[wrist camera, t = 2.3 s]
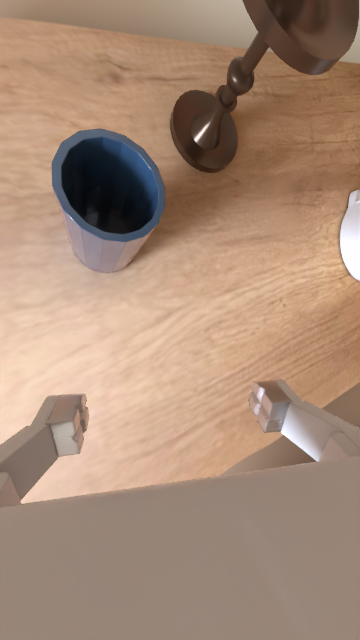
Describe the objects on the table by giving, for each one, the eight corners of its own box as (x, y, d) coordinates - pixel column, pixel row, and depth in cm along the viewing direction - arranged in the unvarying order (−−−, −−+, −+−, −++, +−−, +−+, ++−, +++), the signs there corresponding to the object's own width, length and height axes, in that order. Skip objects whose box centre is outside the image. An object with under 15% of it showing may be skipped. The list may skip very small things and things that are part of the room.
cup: (120, 204, 24) (141, 123, 14) (144, 262, 25) (179, 226, 15) (58, 219, 22) (28, 135, 12) (87, 281, 23) (83, 254, 13)
